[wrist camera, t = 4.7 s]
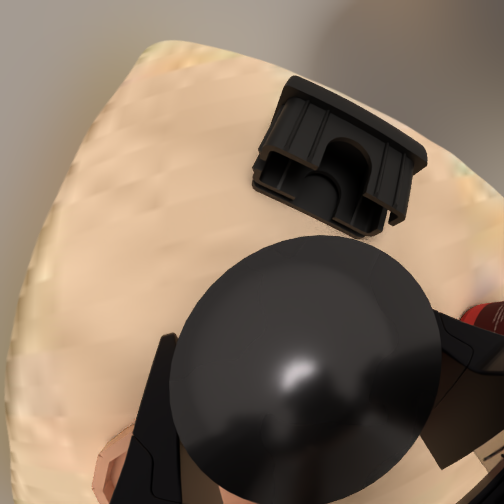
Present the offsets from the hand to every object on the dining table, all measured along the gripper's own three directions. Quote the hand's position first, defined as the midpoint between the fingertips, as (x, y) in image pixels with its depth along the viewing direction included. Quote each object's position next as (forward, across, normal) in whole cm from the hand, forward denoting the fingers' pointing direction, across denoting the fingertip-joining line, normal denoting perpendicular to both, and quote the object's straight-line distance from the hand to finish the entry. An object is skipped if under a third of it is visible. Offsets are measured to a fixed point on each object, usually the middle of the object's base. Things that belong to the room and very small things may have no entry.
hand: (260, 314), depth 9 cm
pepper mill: (+4, 0, +6) cm, 7 cm away
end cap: (+12, -9, +2) cm, 16 cm away
